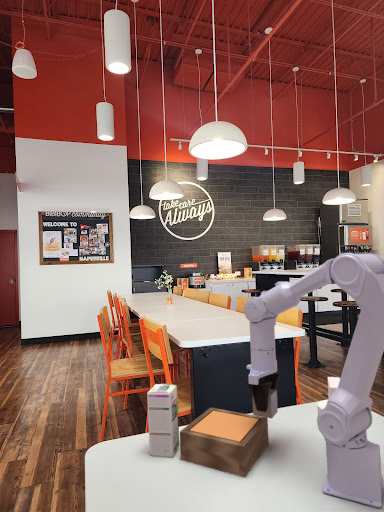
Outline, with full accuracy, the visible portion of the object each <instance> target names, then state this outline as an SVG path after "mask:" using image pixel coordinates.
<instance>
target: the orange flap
mask: <svg viewBox="0 0 384 512" xmlns="http://www.w3.org/2000/svg"><path fill="white" fill-rule="evenodd" d="M258 422H259V419H255V418H249V417H244V416H239V415H234V414H228V413H223V412H218V411H212V412H211V413H210V414H209V415H208V416H206V417H205V418H204V419H203V420H201V421H200V422H199V423H198V424H197V425H195V426H194V427H193V428H192V429H190V431H191V432H196V433H200V434H204V435H209V436H213V437H217V438H222V439H226V440H230V441H235V442H239V443H241V442H242V441H243V440H244V438H245V437H246V436H247V435H248V434H249V432H250V431H251V430H252V429H253V428H254V427H255V425H256V424H257V423H258Z"/></svg>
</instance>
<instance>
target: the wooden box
mask: <svg viewBox="0 0 384 512" xmlns="http://www.w3.org/2000/svg"><path fill="white" fill-rule="evenodd" d="M212 411H218V412H223V413H228V414H234V415H239V416H244V417H249V418H255V419H259V422H258V423H257V424H256V425H255V427H254V428H253V429H252V430H251V431H250V432H249V434H248V435H247V436H246V437H245V438H244V440H243V441H242V442H241V443H239V442H235V441H230V440H226V439H222V438H217V437H213V436H209V435H204V434H200V433H196V432H191V431H190V429H192V428H193V427H194V426H195V425H197V424H198V423H199V422H200V421H201V420H203V419H204V418H205V417H206V416H208V415H209V414H210V413H211V412H212ZM268 419H269V418H266V417H261V416H255V415H253V414H249V413H243V412H237V411H233V410H232V411H231V410H228V409H227V410H226V409H221V408H216V407H209V408H207V409H206V410H205V411H204V412H203V413H202V414H200V415H199V416H198V417H196V418H195V419H194V420H193V421H191V422H190V423H189V424H188V425H186V426H185V427H184V428H182V429H181V430H179V447H180V449H179V451H180V452H179V453H180V460H181V461H185V462H188V463H193V464H196V465H200V466H203V467H206V468H210V469H215V470H218V471H221V472H225V473H229V474H232V475H235V476H238V477H242V478H246V477H247V475H248V474H249V473H250V471H251V470H252V468H253V467H254V466H255V464H256V462H257V461H258V459H259V458H260V457H261V455H262V454H263V453H264V451H265V450H266V448H267V447H268V445H269V442H270V441H269V428H268V427H269V422H268V421H269V420H268Z"/></svg>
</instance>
